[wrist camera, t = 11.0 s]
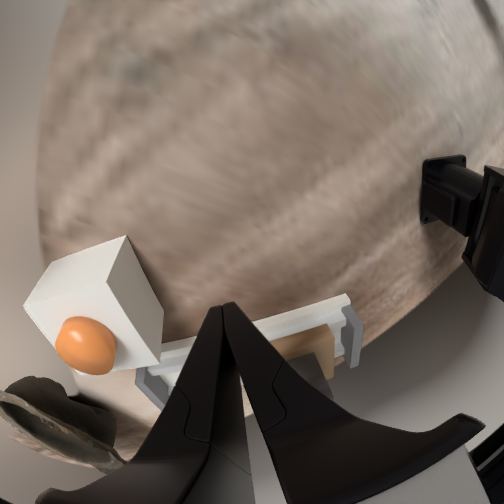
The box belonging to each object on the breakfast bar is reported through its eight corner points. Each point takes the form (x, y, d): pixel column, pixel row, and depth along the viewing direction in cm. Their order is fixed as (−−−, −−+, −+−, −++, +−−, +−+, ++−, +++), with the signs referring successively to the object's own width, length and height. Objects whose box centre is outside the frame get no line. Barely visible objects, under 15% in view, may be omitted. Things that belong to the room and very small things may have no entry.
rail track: (345, 293, 27) (364, 321, 23) (343, 341, 31) (357, 367, 27) (136, 348, 26) (132, 381, 22) (167, 387, 30) (167, 416, 26)
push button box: (126, 234, 20) (106, 281, 15) (164, 312, 24) (161, 365, 19) (51, 261, 19) (22, 306, 14) (94, 328, 24) (81, 376, 19)
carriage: (326, 323, 25) (357, 382, 19) (327, 363, 28) (350, 414, 22) (253, 345, 24) (270, 411, 18) (266, 382, 28) (281, 437, 22)
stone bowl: (166, 423, 35) (165, 477, 27) (83, 434, 39) (79, 472, 32) (24, 330, 22) (-4, 398, 14) (-17, 368, 26) (-32, 409, 19)
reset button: (96, 310, 15) (90, 328, 14) (128, 354, 18) (125, 371, 16) (50, 322, 15) (43, 338, 14) (83, 361, 18) (79, 377, 16)
